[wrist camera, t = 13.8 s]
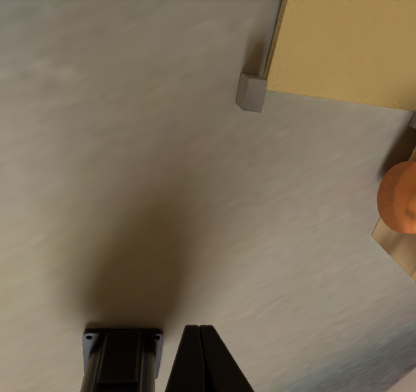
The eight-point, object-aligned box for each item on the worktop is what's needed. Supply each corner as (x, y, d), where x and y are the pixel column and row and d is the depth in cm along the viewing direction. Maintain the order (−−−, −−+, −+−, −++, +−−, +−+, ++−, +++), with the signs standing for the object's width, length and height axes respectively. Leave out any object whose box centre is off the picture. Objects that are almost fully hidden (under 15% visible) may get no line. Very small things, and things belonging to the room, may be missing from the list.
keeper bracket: (421, 127, 20) (445, 137, 18) (235, 101, 18) (242, 110, 16) (433, 102, 19) (459, 110, 18) (240, 72, 17) (249, 78, 16)
